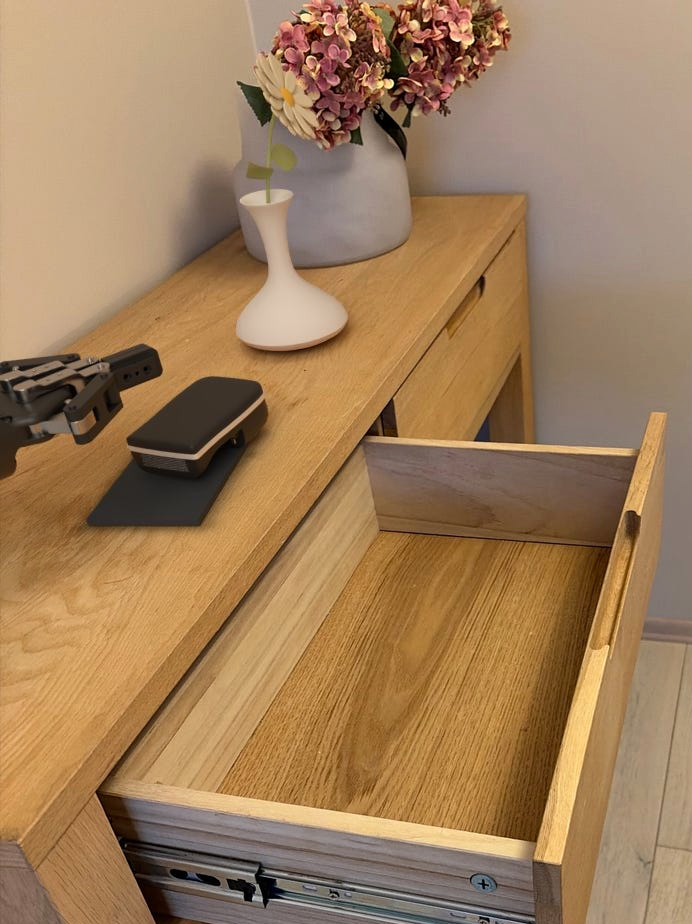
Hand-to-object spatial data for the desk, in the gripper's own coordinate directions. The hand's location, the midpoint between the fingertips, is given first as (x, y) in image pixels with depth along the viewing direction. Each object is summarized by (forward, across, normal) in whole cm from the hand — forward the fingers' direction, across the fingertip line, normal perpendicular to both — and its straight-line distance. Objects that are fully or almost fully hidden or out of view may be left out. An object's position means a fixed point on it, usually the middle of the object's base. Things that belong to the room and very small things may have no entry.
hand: (154, 358), depth 73 cm
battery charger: (-2, 0, +8) cm, 8 cm away
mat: (-1, +1, +10) cm, 11 cm away
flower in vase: (+23, +18, +11) cm, 31 cm away
